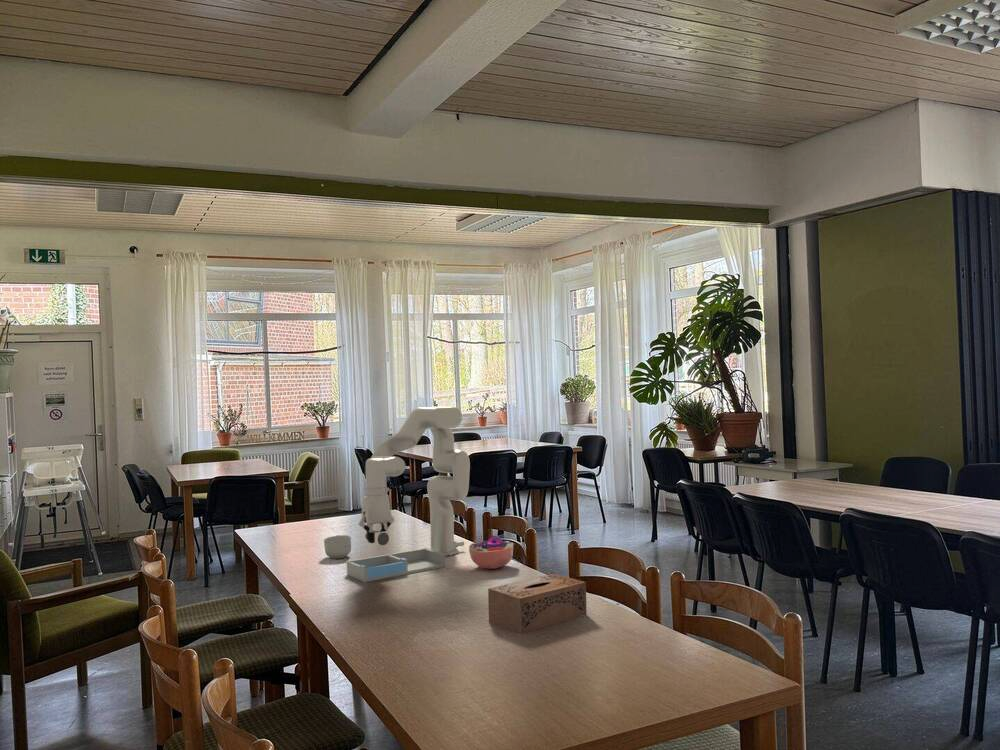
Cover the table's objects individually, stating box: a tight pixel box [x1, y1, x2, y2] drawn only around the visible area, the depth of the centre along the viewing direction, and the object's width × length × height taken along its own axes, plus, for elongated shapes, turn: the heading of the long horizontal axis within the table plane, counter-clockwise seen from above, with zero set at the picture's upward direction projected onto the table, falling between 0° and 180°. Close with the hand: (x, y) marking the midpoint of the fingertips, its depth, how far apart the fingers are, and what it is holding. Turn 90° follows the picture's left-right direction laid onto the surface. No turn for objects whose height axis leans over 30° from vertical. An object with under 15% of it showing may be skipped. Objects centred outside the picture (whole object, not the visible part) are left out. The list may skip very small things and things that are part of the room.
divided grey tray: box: [346, 547, 446, 583], centre depth 298 cm, size 34×14×5 cm, turn 126°
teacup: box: [323, 534, 352, 560], centre depth 325 cm, size 14×11×8 cm
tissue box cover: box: [487, 573, 588, 634], centre depth 236 cm, size 26×14×10 cm, turn 129°
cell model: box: [468, 535, 514, 570], centre depth 300 cm, size 17×20×11 cm
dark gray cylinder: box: [365, 529, 390, 547], centre depth 293 cm, size 10×4×4 cm, turn 36°
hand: (377, 541), depth 293 cm, fingers closed on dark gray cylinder, 4 cm apart
